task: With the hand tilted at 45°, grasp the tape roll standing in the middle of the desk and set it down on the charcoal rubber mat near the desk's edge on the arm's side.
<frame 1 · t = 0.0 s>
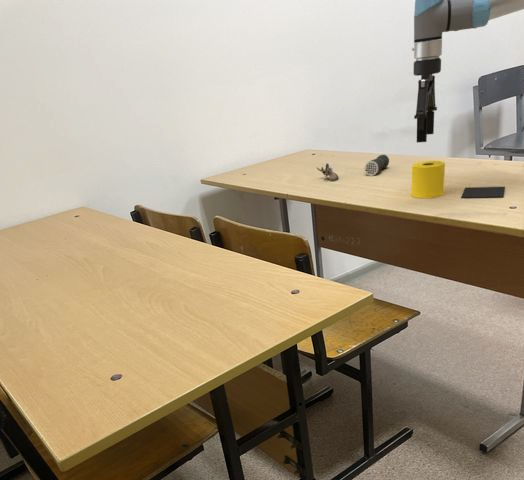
hand: (425, 138, 160), 18 cm above the table, tool pointing down, fingers open, 13 cm apart
flashlight: (377, 172, 212), on the table
edge mat: (483, 193, 166), on the table
tape roll: (427, 194, 173), on the table
eagle figurine: (328, 179, 210), on the table
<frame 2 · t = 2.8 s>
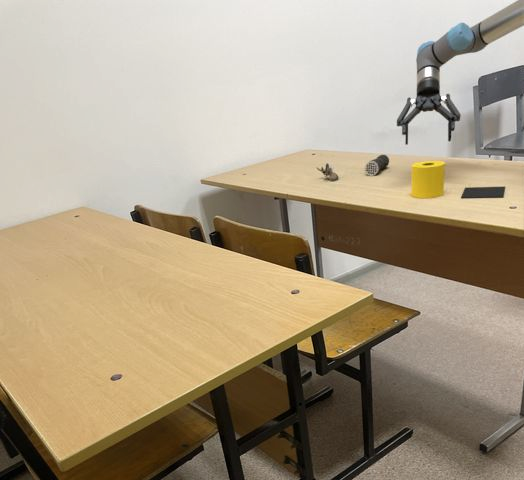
hand: (428, 140, 174), 15 cm above the table, tool tilted 45°, fingers open, 13 cm apart
nothing on the table moved.
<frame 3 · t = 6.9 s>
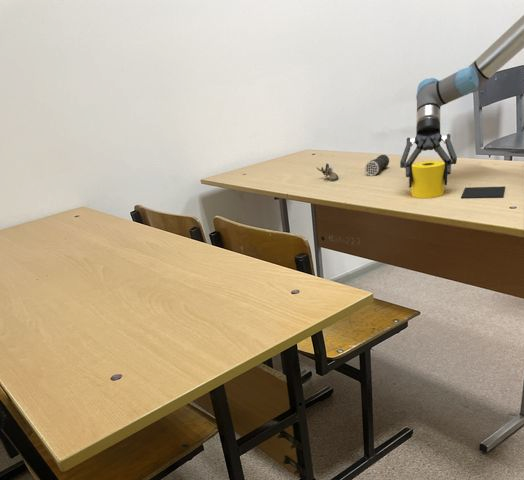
hand: (427, 183, 169), 4 cm above the table, tool tilted 45°, fingers closed on tape roll, 10 cm apart
tape roll: (427, 194, 173), on the table, touching gripper
everything else where it was.
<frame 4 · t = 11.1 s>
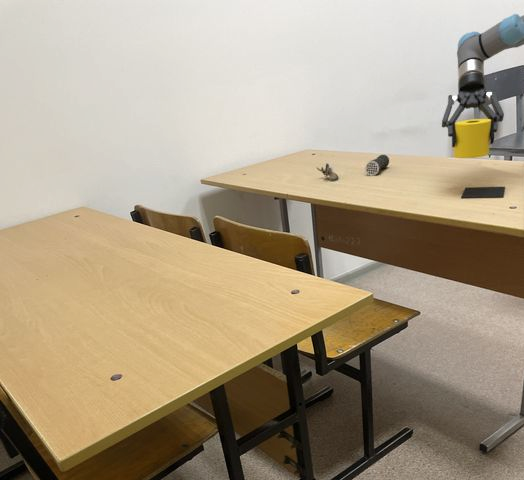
hand: (472, 142, 158), 16 cm above the table, tool tilted 45°, fingers closed on tape roll, 10 cm apart
tape roll: (471, 155, 162), point 12 cm above the table, touching gripper
everything else where it was.
when the fingers open (4 cm above the table, at t = 15.4 s): tape roll stays where it is, resting on edge mat.
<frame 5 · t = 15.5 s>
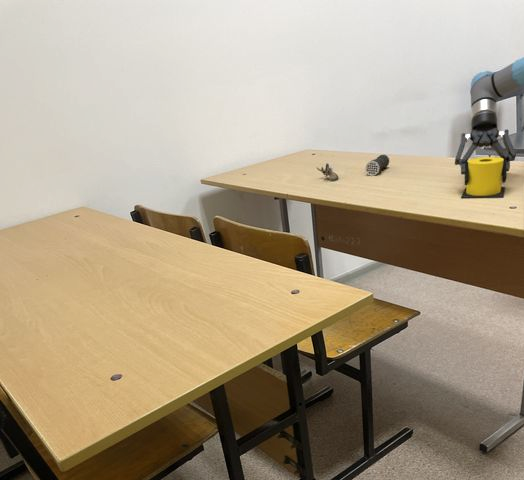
hand: (485, 181, 162), 4 cm above the table, tool tilted 45°, fingers open, 10 cm apart
tape roll: (483, 192, 166), resting on edge mat
everything else where it was.
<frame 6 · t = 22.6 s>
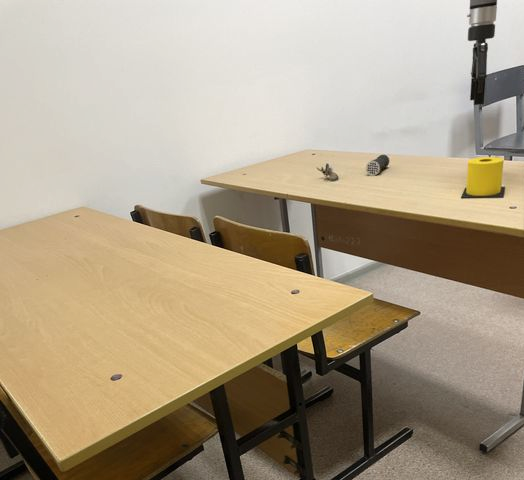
hand: (476, 102, 169), 25 cm above the table, tool pointing down, fingers open, 13 cm apart
nothing on the table moved.
at the end: tape roll inside the target area (0.1 cm from its centre), resting on edge mat; tape roll tilted 0°; tape roll moved 16.9 cm from its start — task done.
